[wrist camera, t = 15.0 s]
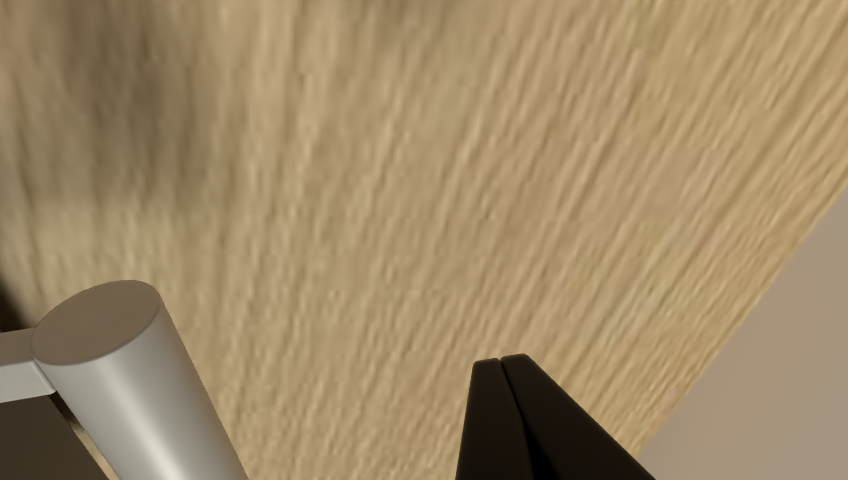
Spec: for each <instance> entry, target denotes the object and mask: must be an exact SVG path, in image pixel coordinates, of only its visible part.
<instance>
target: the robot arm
mask: <svg viewBox="0 0 848 480" xmlns="http://www.w3.org/2000/svg"><path fill="white" fill-rule="evenodd" d="M455 480H656V479H654V477H653V476H652V475H650V474H649V473H648V472H647V471H646V470H645V469H644V468H643V467H642V466H641V465H640V464H639V463H638V462H637V461H636V460H635V459H634V458H633V457H632V456H631V455H630V454H629V453H628V452H627V451H626V450H625V449H624V448H623V447H622V446H621V445H620V444H619V443H618V442H617V441H615V440H614V439H613V438H612V437H611V436H610V435H609V434H608V433H607V432H606V431H605V430H604V429H603V428H602V427H601V426H600V425H599V424H598V423H597V422H596V421H595V420H594V419H593V418H592V417H591V416H590V415H589V414H588V413H587V412H586V411H585V410H584V409H582V408H581V407H580V406H579V405H578V404H577V403H576V402H575V401H574V400H573V399H572V398H571V397H570V396H569V395H568V394H567V393H566V392H565V391H564V390H563V389H562V388H561V387H560V386H559V385H558V384H557V383H556V382H555V381H554V380H553V379H552V378H551V377H550V376H548V375H547V374H546V373H545V372H544V371H543V370H542V369H541V368H540V367H539V366H538V365H537V364H536V363H535V362H534V361H533V360H532V359H531V358H530V357H529V356H528V355H526V354H516V355H510V356H504V357H502V358H501V359H500V360H499V359H497V358H492V359H486V360H480V361H476V362H475V363H474V364H473V369H472V375H471V381H470V388H469V394H468V401H467V407H466V414H465V420H464V426H463V433H462V439H461V446H460V452H459V459H458V465H457V471H456V478H455Z"/></svg>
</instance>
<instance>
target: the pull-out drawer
mask: <svg viewBox="0 0 848 480" xmlns="http://www.w3.org/2000/svg"><path fill="white" fill-rule="evenodd" d="M56 390H57V391H58V393H59V394H60V396H61V397H62V399H63V400H64V401H65V403H66V404H67V406H68V407H69V408H70V410H71V411H72V413H73V414H74V415H75V417H76V418H77V420H78V421H79V423H80V424H81V425H82V427H83V428H84V430H85V431H86V432H87V434H88V435H89V437H90V438H91V439H92V441H93V442H94V444H95V445H96V447H97V448H98V449H99V451H100V452H101V454H102V455H103V456H104V458H105V459H106V461H107V462H108V463H109V465H110V466H111V468H112V469H113V471H114V472H115V473H116V475H117V476H118V478H119V479H120V480H249V479H248V477H247V475H246V473H245V471H244V469H243V466H242V464H241V462H240V460H239V458H238V456H237V454H236V452H235V450H234V448H233V446H232V444H231V442H230V439H229V437H228V435H227V433H226V431H225V429H224V427H223V425H222V423H221V421H220V419H219V417H218V415H217V413H216V410H215V408H214V406H213V404H212V402H211V400H210V398H209V396H208V394H207V392H206V390H205V388H204V386H203V383H202V381H201V379H200V377H199V375H198V373H197V371H196V369H195V367H194V365H193V363H192V361H191V359H190V356H189V354H188V352H187V350H186V348H185V346H184V344H183V342H182V340H181V338H180V336H179V334H178V332H177V329H176V327H175V325H174V323H173V321H172V319H171V317H170V315H169V313H168V311H167V309H166V307H165V305H164V303H163V300H162V298H161V296H160V294H159V292H158V291H157V290H156V289H155V288H154V287H152V286H151V285H149V284H147V283H144V282H141V281H135V280H121V281H114V282H109V283H105V284H101V285H98V286H95V287H92V288H89V289H87V290H84V291H82V292H80V293H78V294H76V295H74V296H72V297H70V298H68V299H67V300H65V301H64V302H62V303H61V304H59V305H58V306H56V307H55V308H54V309H53V310H51V311H50V312H49V313H48V314H47V315H46V316H45V317H44V318H43V319H42V320H41V321H40V322H39V324H38V325H37V327H34V328H28V329H22V330H16V331H10V332H4V333H2V332H1V330H0V480H109V479H108V478H107V476H106V475H105V473H104V472H103V471H102V469H101V468H100V467H99V465H98V464H97V462H96V461H95V460H94V458H93V457H92V456H91V454H90V453H89V451H88V450H87V449H86V447H85V446H84V445H83V443H82V442H81V440H80V439H79V438H78V436H77V435H76V434H75V432H74V431H73V429H72V428H71V427H70V425H69V424H68V423H67V421H66V420H65V418H64V417H63V416H62V414H61V413H60V412H59V410H58V409H57V407H56V406H55V405H54V403H53V402H52V401H51V399H50V398H49V396H48V394H52V393H54V392H55V391H56Z"/></svg>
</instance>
